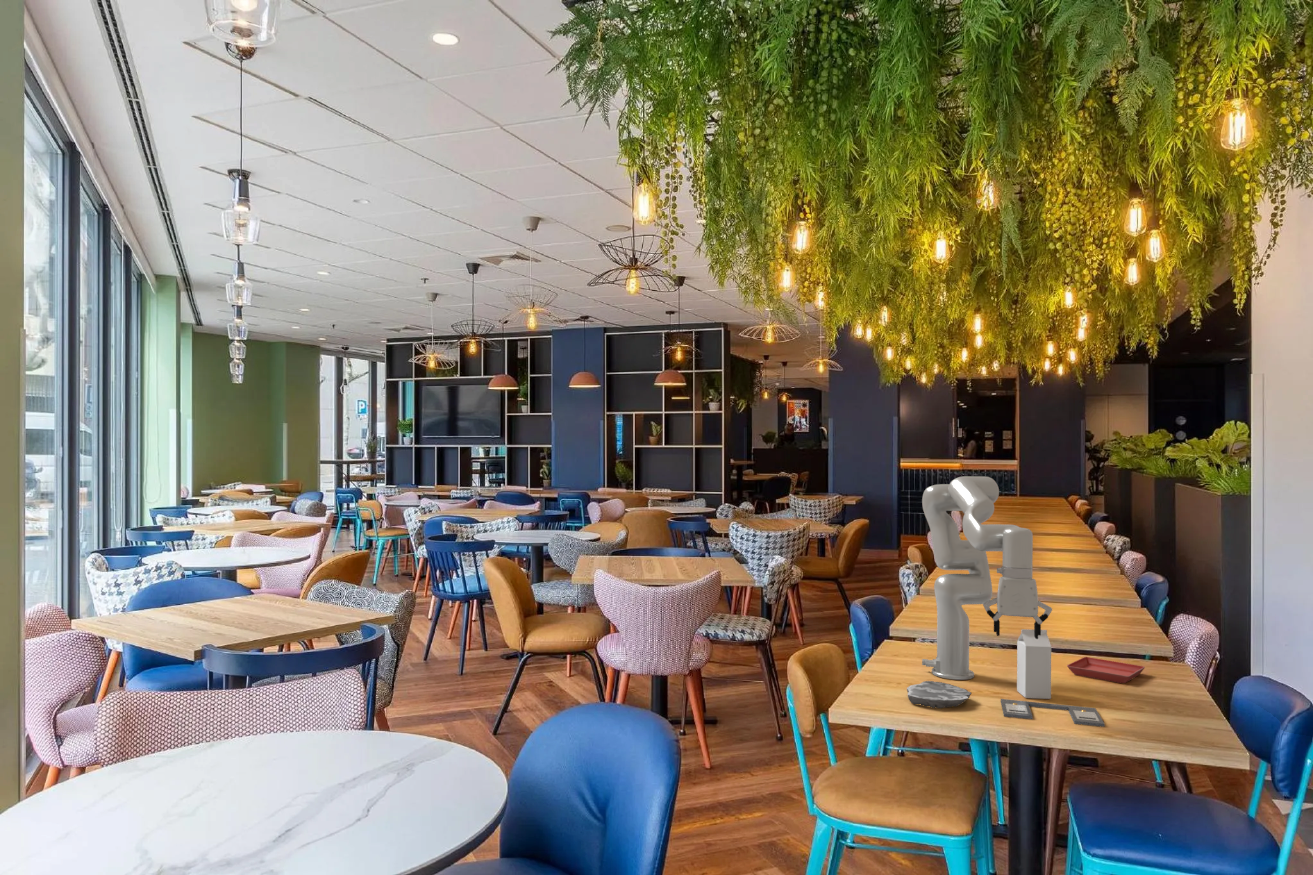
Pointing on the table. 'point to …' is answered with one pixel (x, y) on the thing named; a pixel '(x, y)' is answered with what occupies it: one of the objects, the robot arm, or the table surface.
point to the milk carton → (1034, 665)
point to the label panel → (1077, 713)
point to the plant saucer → (1105, 669)
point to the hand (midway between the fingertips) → (1016, 636)
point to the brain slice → (937, 694)
